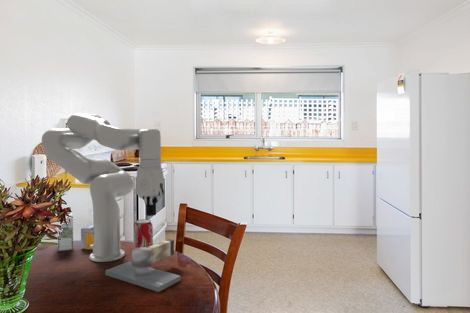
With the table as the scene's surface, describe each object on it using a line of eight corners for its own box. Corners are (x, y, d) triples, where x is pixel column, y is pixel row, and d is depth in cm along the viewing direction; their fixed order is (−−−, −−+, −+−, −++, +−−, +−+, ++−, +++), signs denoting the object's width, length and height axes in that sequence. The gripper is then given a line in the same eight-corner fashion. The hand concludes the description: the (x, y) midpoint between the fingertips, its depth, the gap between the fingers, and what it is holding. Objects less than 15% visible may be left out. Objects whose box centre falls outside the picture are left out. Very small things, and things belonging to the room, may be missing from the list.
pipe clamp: (118, 245, 148) (118, 230, 147) (116, 249, 143) (116, 233, 143) (89, 246, 146) (89, 230, 146) (86, 249, 142) (85, 233, 142)
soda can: (148, 253, 138) (147, 223, 137) (131, 252, 140) (131, 222, 139) (155, 248, 145) (155, 219, 144) (139, 246, 146) (139, 218, 146)
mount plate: (105, 274, 117) (105, 262, 117) (128, 265, 125) (128, 253, 125) (158, 292, 104) (158, 277, 104) (180, 280, 113) (180, 267, 113)
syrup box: (73, 245, 147) (72, 211, 146) (73, 250, 142) (72, 214, 141) (58, 247, 145) (57, 212, 144) (57, 252, 139) (56, 215, 139)
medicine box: (90, 249, 143) (90, 228, 142) (80, 248, 143) (80, 228, 143) (100, 243, 150) (100, 223, 150) (91, 243, 151) (91, 223, 150)
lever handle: (141, 271, 110) (141, 254, 110) (127, 267, 114) (127, 251, 113) (178, 255, 125) (177, 241, 125) (164, 252, 128) (164, 238, 128)
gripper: (127, 164, 125) (128, 214, 126) (158, 165, 117) (159, 219, 118) (143, 162, 131) (144, 211, 132) (173, 163, 124) (174, 215, 125)
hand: (151, 215), depth 125 cm, fingers closed
